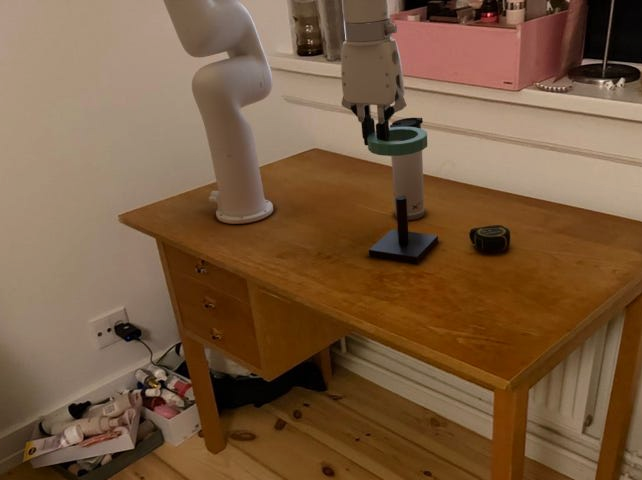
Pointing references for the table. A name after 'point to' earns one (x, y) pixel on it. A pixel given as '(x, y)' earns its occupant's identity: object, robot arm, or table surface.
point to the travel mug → (409, 175)
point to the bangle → (399, 142)
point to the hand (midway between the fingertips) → (376, 143)
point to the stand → (403, 240)
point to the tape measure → (490, 238)
